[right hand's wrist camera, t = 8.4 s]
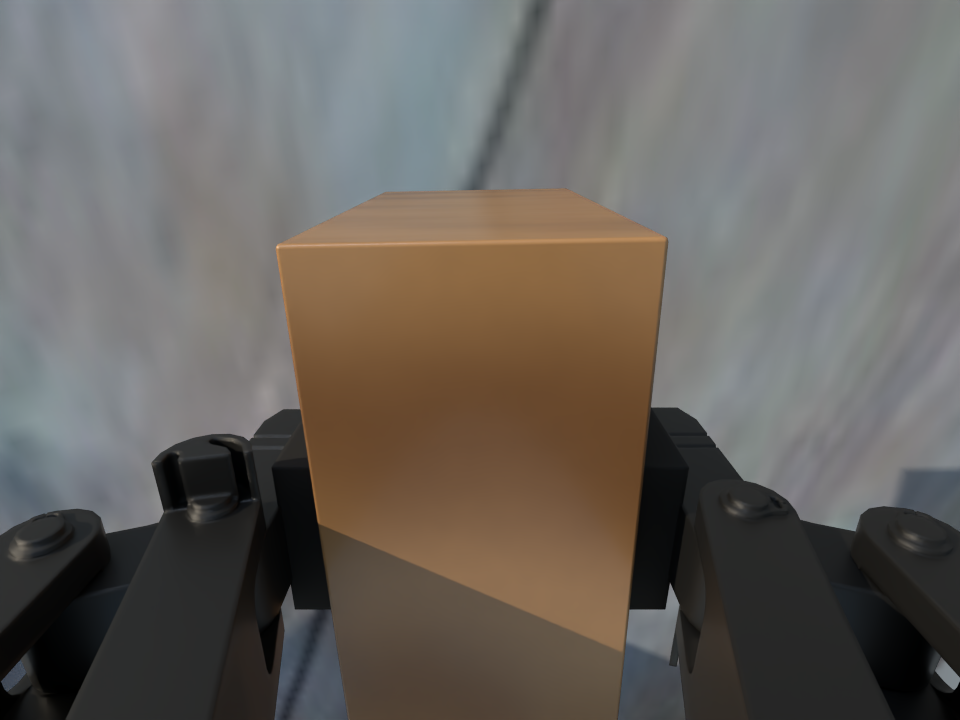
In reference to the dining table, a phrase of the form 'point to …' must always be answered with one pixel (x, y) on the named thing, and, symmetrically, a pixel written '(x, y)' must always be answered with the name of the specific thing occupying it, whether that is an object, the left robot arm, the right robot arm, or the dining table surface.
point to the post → (477, 445)
